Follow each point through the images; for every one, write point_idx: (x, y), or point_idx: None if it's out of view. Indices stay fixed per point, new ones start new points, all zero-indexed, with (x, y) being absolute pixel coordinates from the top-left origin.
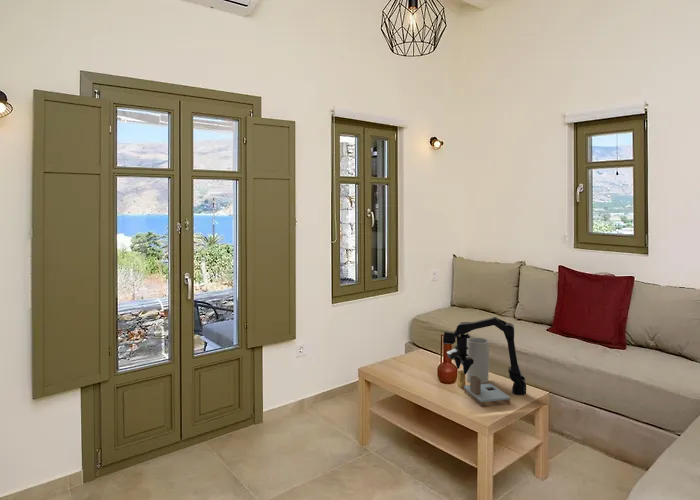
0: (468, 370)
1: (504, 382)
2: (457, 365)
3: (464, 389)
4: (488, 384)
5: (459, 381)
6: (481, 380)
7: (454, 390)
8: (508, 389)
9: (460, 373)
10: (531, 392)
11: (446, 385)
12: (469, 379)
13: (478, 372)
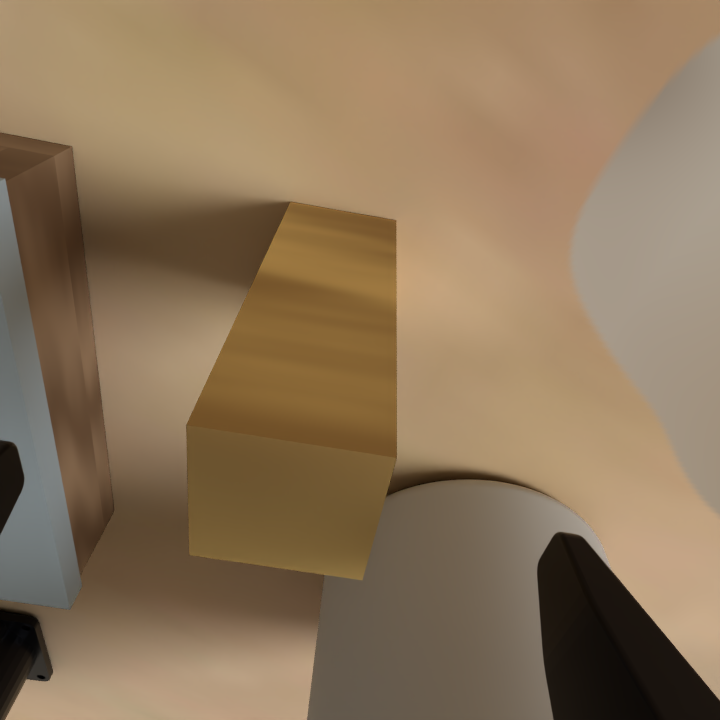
0: (523, 654)
1: None
2: (594, 658)
3: (20, 172)
4: (28, 570)
5: (302, 273)
6: (325, 592)
7: (294, 66)
8: (137, 640)
9: (195, 408)
10: (40, 705)
11: (615, 72)
12: (468, 514)
13: (329, 699)
